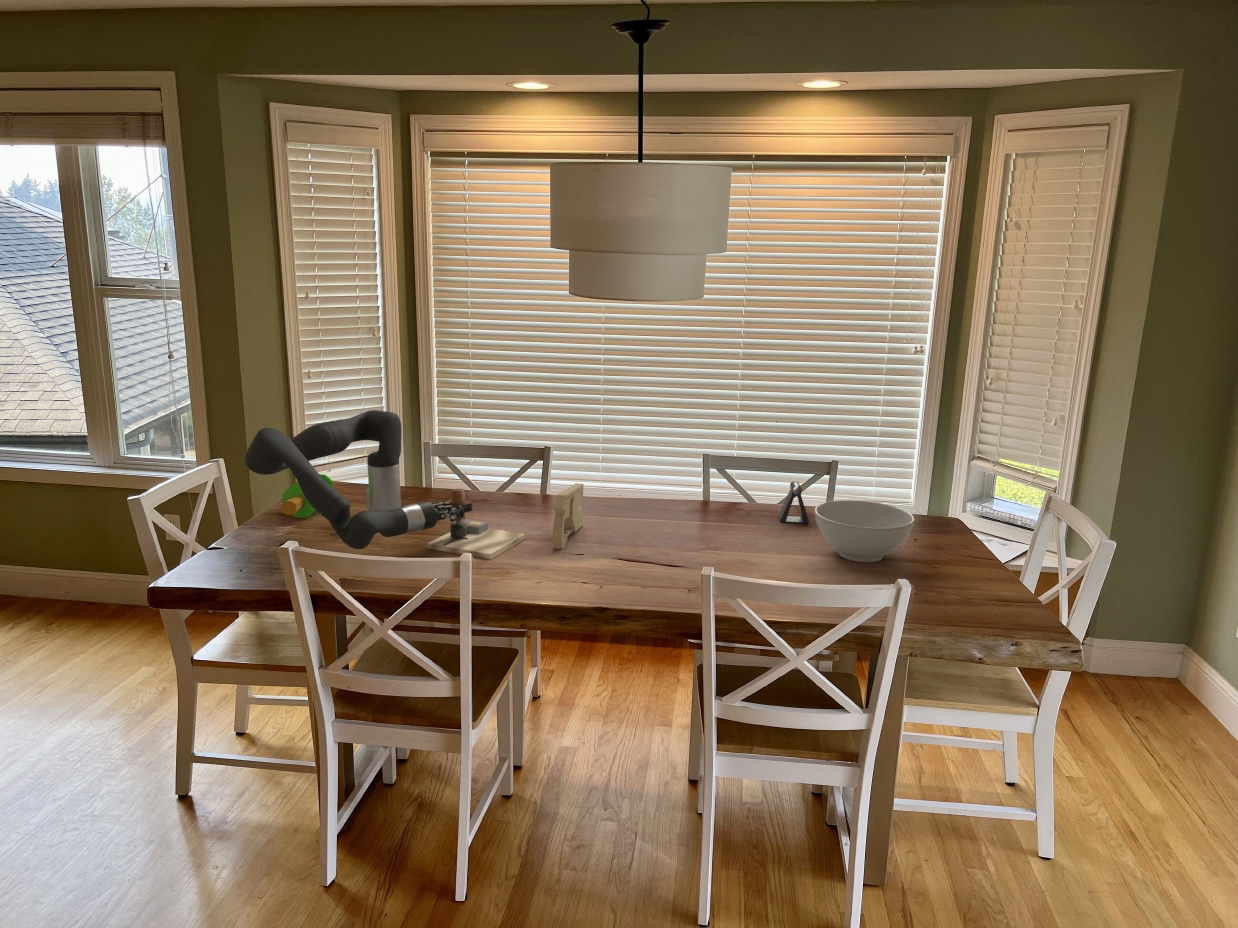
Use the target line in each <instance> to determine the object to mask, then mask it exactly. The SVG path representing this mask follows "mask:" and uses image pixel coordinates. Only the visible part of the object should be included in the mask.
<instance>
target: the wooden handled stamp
mask: <svg viewBox="0 0 1238 928" xmlns="http://www.w3.org/2000/svg"><path fill="white" fill-rule="evenodd" d="M450 491H451V492H450V493H451V502H452V505H453V506H459V505H464V504H466V500H465V499H466V497H465V496H466V495H465V489H464V488H453V489H451V490H450ZM455 510H456V509H455ZM465 518H466V513H464V517H462V518H460V519H458V520H456V521H454V522H452V523H450V524H449V525H450V531H449V532H450V533H451V536H452V537H464V536H466V535H467V524H466V523H464V522H463V521H462V520H464V519H465Z"/></svg>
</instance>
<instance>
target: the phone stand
mask: <svg viewBox="0 0 1238 928" xmlns="http://www.w3.org/2000/svg"><path fill="white" fill-rule="evenodd" d="M796 484H797V485H796ZM796 486H797V487H796ZM789 487H790V489H789V491H788V493H787V495H786V498H785V500H784V503H783V504H782V506H781V509H780V511H779V513H778V520H779V522H780V523H783V524H784V523H788V524H794V523H795V524H807V525H808V524H810V520H809V518H808V514H807V511H806V508H805V504H804V500H803V497H802V489H803V488H802V486H801V485H800V482H799V481H798V480H796V483H795V480H792V481H791V482H790V484H789ZM795 497H797V501H798V506H799V511H800V516H793V515H791V516H790V515H789V513H790V510H791V507H792V504H793V502H794V499H795Z"/></svg>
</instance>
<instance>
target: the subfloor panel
mask: <svg viewBox="0 0 1238 928" xmlns="http://www.w3.org/2000/svg"><path fill="white" fill-rule="evenodd" d="M525 539H526V534H525V533H520V532H513V531H507V530H502V529H496V528H489V527H488V530H486V531H484V532H482V533H480V534H476V533H470V532H467V535H466V536H464V537H452V536H451V533H450V531H449V532H447V533H445V534H443V535H441V536H439V537H438V538H436V539H434V540H431V541H429V542H427V549H430V550H436V551H441V552H446V553H452V554H459V555H463V553H465V552H468V553H471V554H472V555H473V556H472V557H474V558H479V559H487V560H492V559H494V558H496V557H497V556H499V555H501V554H502V553H504V552H506V551H508V550H509V549H511V548H513V547H514V546H516V545H517V544H519V543H521V542H523V541H524V540H525Z"/></svg>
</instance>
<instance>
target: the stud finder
mask: <svg viewBox="0 0 1238 928" xmlns="http://www.w3.org/2000/svg"><path fill="white" fill-rule="evenodd" d="M462 522H464V523H466V524H467V532H470V533H476V534H480V533H482V532H484V531H486V530H488V528H489V522H487V521H481V520H473V519H467V518H466V519H465V520H463V521H462Z"/></svg>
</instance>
